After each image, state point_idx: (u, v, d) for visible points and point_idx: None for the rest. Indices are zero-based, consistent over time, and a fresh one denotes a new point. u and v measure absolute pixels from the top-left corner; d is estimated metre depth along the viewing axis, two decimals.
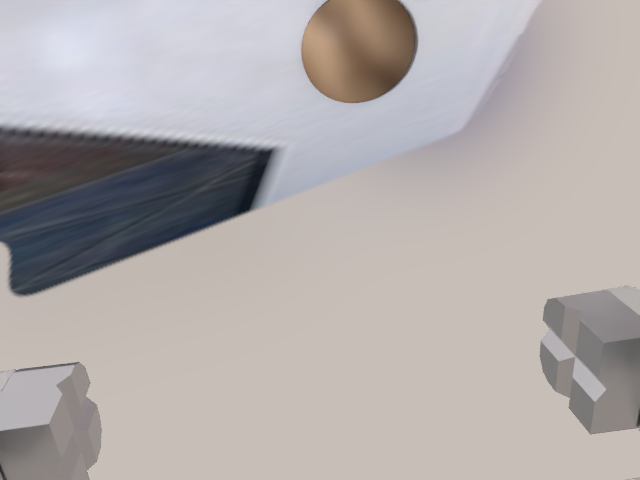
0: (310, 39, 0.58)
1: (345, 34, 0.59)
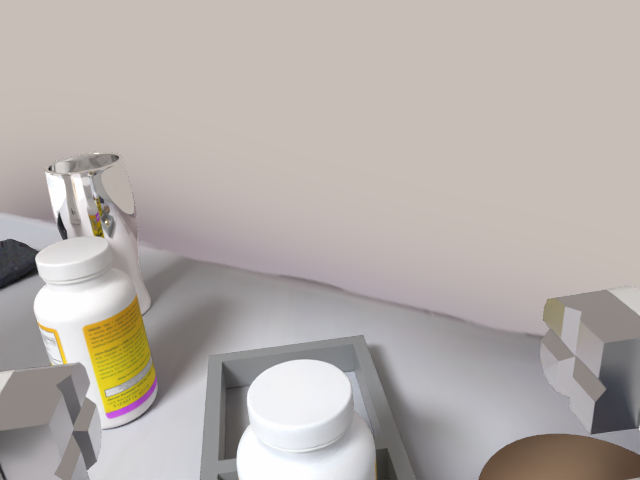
0: None
1: None
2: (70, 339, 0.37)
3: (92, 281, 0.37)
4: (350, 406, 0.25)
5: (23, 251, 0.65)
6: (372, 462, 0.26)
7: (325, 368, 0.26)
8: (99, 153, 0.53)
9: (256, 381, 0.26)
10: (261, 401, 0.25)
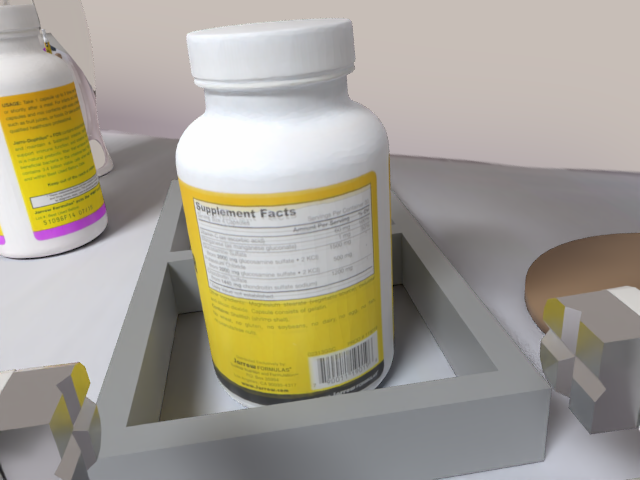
0: None
1: None
2: None
3: (8, 43, 0.28)
4: (349, 36, 0.15)
5: None
6: (384, 145, 0.16)
7: (311, 19, 0.17)
8: None
9: None
10: (208, 32, 0.16)
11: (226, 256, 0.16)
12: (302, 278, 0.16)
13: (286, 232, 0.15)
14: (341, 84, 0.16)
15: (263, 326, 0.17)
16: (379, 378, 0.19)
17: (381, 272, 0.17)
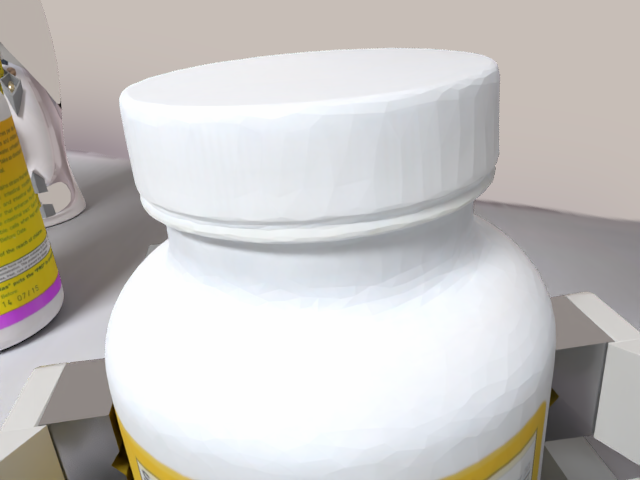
0: None
1: None
2: None
3: None
4: (498, 100, 0.07)
5: None
6: (554, 328, 0.08)
7: (388, 51, 0.09)
8: None
9: (167, 73, 0.08)
10: (169, 89, 0.07)
11: None
12: None
13: None
14: (470, 203, 0.07)
15: None
16: None
17: None
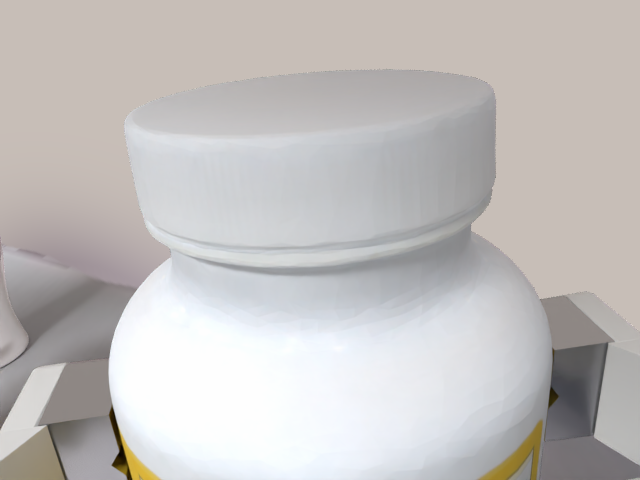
0: None
1: None
2: None
3: None
4: (494, 125, 0.07)
5: None
6: (551, 347, 0.08)
7: (388, 73, 0.09)
8: None
9: (171, 96, 0.08)
10: (173, 114, 0.07)
11: None
12: None
13: None
14: (467, 225, 0.07)
15: None
16: None
17: None
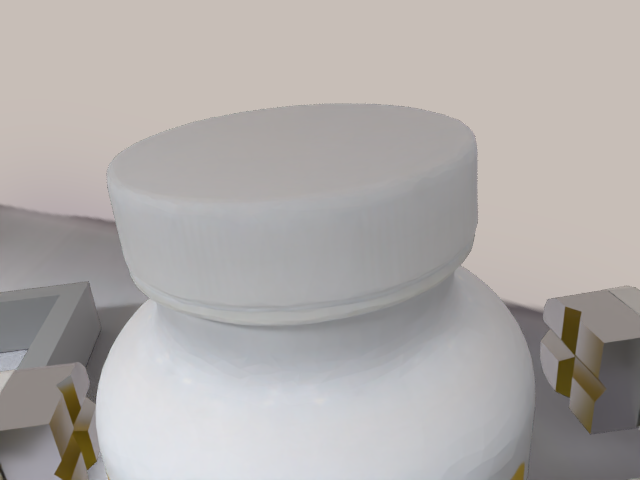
0: None
1: None
2: None
3: None
4: (475, 174, 0.07)
5: None
6: (534, 387, 0.08)
7: (372, 109, 0.09)
8: None
9: (155, 136, 0.08)
10: (155, 162, 0.07)
11: None
12: None
13: None
14: None
15: None
16: None
17: None
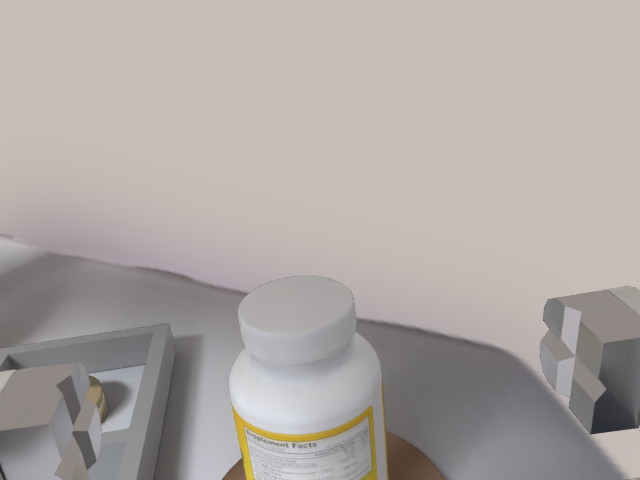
0: None
1: None
2: None
3: None
4: (352, 316, 0.22)
5: None
6: (378, 381, 0.23)
7: (324, 282, 0.24)
8: None
9: (248, 296, 0.24)
10: (253, 313, 0.22)
11: (267, 466, 0.23)
12: None
13: (310, 456, 0.22)
14: (346, 344, 0.23)
15: None
16: None
17: (377, 464, 0.24)
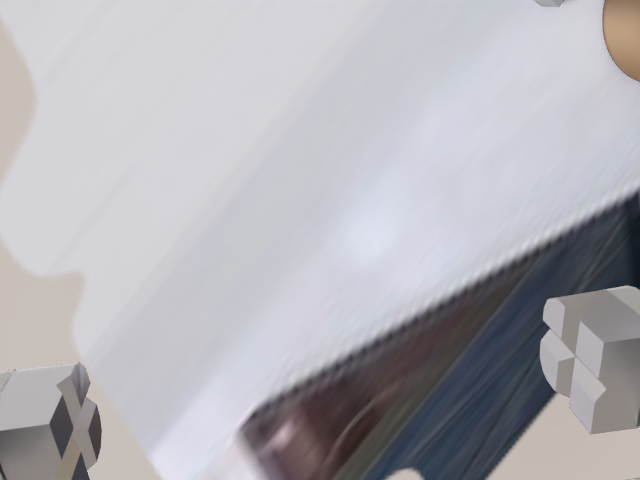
0: (617, 36, 0.43)
1: None
2: None
3: None
4: None
5: None
6: None
7: None
8: None
9: None
10: None
11: None
12: None
13: None
14: None
15: None
16: None
17: None
